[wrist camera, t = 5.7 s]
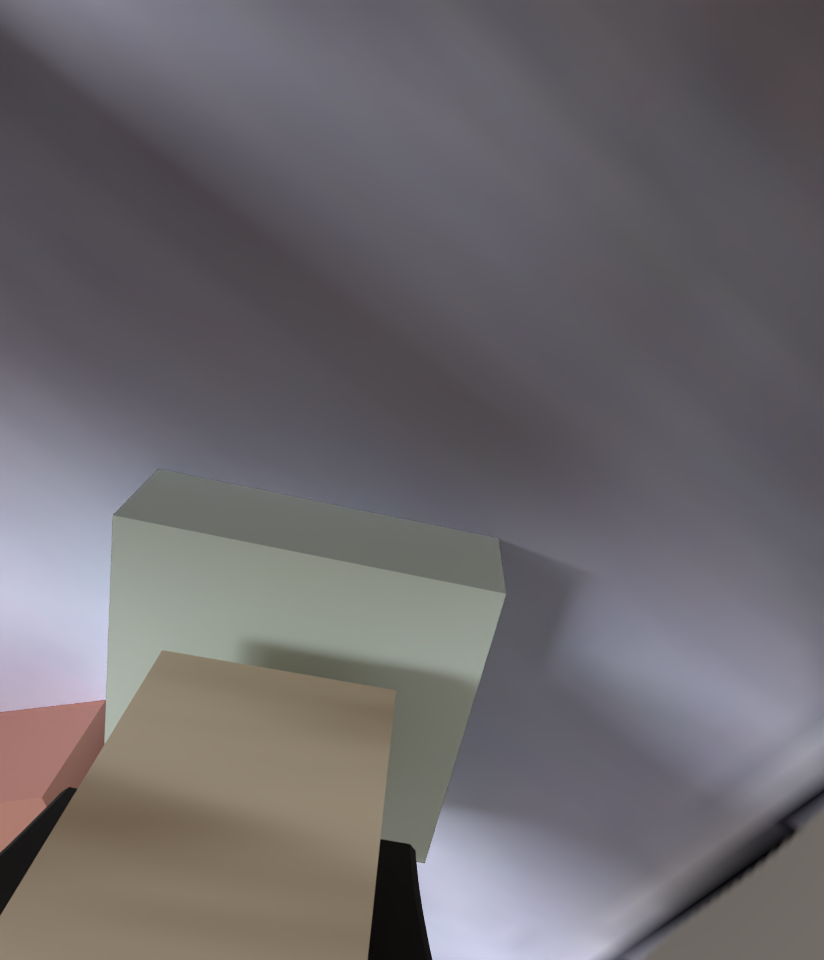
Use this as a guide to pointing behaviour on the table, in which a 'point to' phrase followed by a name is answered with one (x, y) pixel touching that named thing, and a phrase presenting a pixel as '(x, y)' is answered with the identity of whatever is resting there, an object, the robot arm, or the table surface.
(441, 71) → the table surface
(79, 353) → the table surface
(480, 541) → the base block
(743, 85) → the table surface
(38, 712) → the block
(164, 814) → the beech block
